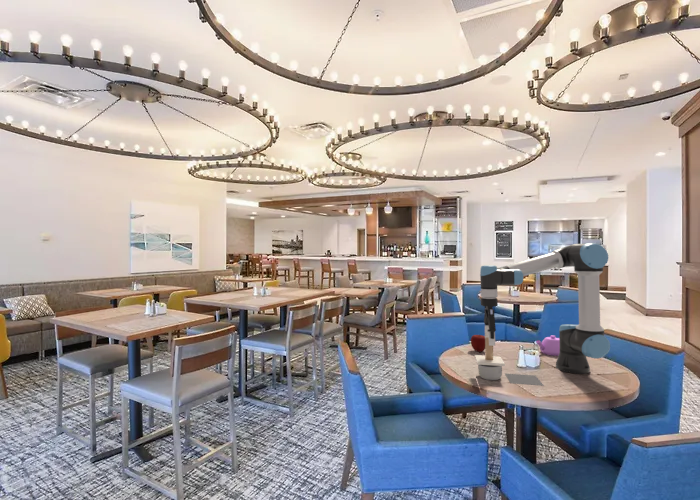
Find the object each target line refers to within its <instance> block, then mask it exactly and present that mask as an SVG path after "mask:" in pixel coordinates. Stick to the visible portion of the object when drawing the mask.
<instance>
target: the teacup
mask: <svg viewBox="0 0 700 500" xmlns="http://www.w3.org/2000/svg"><path fill="white" fill-rule="evenodd" d="M477 368H478V374H479V377H480V378H482V379H483V380H486V381H498V380H500V379H501V378H502V376H503V366H493V365H478V364H477Z"/></svg>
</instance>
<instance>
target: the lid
mask: <svg viewBox="0 0 700 500" xmlns="http://www.w3.org/2000/svg"><path fill="white" fill-rule="evenodd" d="M484 352H485V353H484V354H485V355H484V354H483V355H481V354H474V358H475V361H476V364H477V366H478V365H493V366H502V367H506V363H505V362H504V360H503V358H502V357H501V356H495V355H494V346H490V345H489V337H486V338H485V350H484Z"/></svg>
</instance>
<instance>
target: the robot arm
mask: <svg viewBox="0 0 700 500" xmlns="http://www.w3.org/2000/svg"><path fill="white" fill-rule="evenodd" d="M608 261H609V253H608V251H607V249H606V248H605V247H603V246H602V245H601V244H598V243H593V242H587V243H574V244H569V245H567V246H566V245H565V246H564V247H561V248H557V249H555V250H552V252H551V253H547V254H543V255H539V256H537V257H533V258H529V259H526V260H522V261H518V262H515V263H512V264H508V265H504V266H501V267H497V266H496V265H490V264H489V265H481V266H480V270H479V271H480V273H479V277H480V278H479V279H480V290H479V293H480V297H481V298H480V306H482V307H484V316H483V318H484V319H483V323H484V336H485V338H486V337H489V345H490V346H493V347H494V346H496V332H497V329H496V320H495V309H493V308H494V307H497V306H498V295H499V293H498V286H519V285H521V284H523V281H524V277H526V276H530V275H533V274H536V273H541V272H543V271H548V270H551V269H555V268H556V269H563V268H571V267H572V268H573V270H574V272H575V273H576V274H577V278H578V279H577V283H578V285H577V286H578V287H577V288H578V290H577V291H578V324H567V323H566V324H561V325H560V326H559V329H558V333H559V337H558V338H559V340H560V353H559V356H557V358H556V361H555V368H556V369H557V370H560V371H561V372H565V373H570V374H575V375H576V374H577V375H578V374H579V375H585V374H589V373H590V372H591V368H590V367H591V366H590V364H589V361H588V358H591V359H594V360H595V359H602V358H604V357H605V356H606V355H608V353H609V352H610V349H611V341H610V340H609V339H608V338H607V337H606V336H605V329H604V328H603V327H602V326H601V303H600V302H601V296H600V293H601V292H600V275H601V274H602V273H603V272H604V267H605V266H606V265H607V264H608ZM587 357H588V358H587Z"/></svg>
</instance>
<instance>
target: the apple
mask: <svg viewBox="0 0 700 500" xmlns="http://www.w3.org/2000/svg"><path fill="white" fill-rule="evenodd" d="M470 344H471V347H472V349H473V350H474V351H475V352H479V353H482V352H485V335H481V334H473V335H471V337H470Z"/></svg>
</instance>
